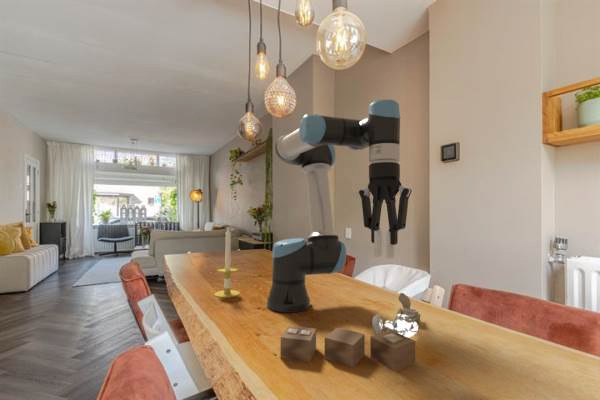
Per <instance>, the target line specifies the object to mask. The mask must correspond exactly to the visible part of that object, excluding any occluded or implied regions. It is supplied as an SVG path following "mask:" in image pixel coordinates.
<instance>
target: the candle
mask: <svg viewBox="0 0 600 400" xmlns="http://www.w3.org/2000/svg"><path fill="white" fill-rule="evenodd" d="M231 239H232V233H231V231H230V229H229V227H227V230H226V232H225V239H224V241H225V243H224V245H225V246H224V248H225V249H224V251H225V252H224V254H225V255H224V267H219V268H217V269H216V272H217V273H224V275H223V276H224V277H223V278H224V279H223V283H224V284H223V288H224V289H223V290H219V291H217V292H215V293H214V297H215V298H223V299H226V298H227V299H228V298H235V297H238V296H239V295H241V292H240V291H238V290H235V289H231V288H232V287H231V286H232V285H231V284H232V283H231V281H232V280H231V279H232V278H231V277H232V273H235V272H238V271H239V268H238V267H235V266H234V267H233V266H232V267H231V253H232V251H231V250H232V249H231V248H232V245H231V244H232V243H231V242H232V240H231Z"/></svg>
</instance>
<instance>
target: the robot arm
mask: <svg viewBox="0 0 600 400" xmlns="http://www.w3.org/2000/svg"><path fill="white" fill-rule="evenodd" d="M400 115H401V112H400V104H399V103H398V101H396V100H394V99H389V98H388V99H387V98H386V99H379V100H375V101H373V102H371V103H370V104H369V106H368V116H367V117H365V118H363V119H354V118H346V117H345V118H344V117H337V116H336V117H335V116H327V115H320V114H305V115H303V117H302V118H301V121H299V123H300V124H299V128H297V129H296V130H294V131H292V132H291V133H285V134H282V135H280V136H279V138H278V139H277V140H276V143H275V145H274V150H275V153H276V156H277V158H279V160H281V161H282V162H284V163H285V164H288V165H291V166H301V171H302V173H304V174H305V175H306V186H307V187H306V190H307V200H308V201H307V202H308V212H309V226H310V234H309V235H308V237H307V241H306V239H305V238H303V237H301V238H300V237H298V238H297V237H296V238H285V239H282V240H278V241H276V242H275V243H274V244H273V246H272V254H271V257H272V267H271V268H272V270H271V271H272V273H271V274H272V275H271V276H272V277H271V279H272V282H271V287H270V290H269V294H268V297H267V300H266V307H267V308H268V309H269V310H271V311H274V312H278V313H298V312H303V311H305V310H307V309H309V308H310V306H311V299H310V297H309V294H308V289H307V286H306V276H308V275H310V276H312V275H326V274H327V275H330V274H334V273H335V274H337V273H339V272H341V271H342V269H343V268H344V266H345V264H346V261H347V247H346V245H345V243H344V242H343V241H341V240H340V239H339V235H338V234H337V233H336V232H335V231H334V221H333V212H332V202H331V193H330V184H329V182H330V181H329V172H330V170H331V169H332V167H333V165H334V164H335V161H336V150H335V146H337V147H338V146H339V147H340V146H341V147H348V148H349V149H350V150H354V151H359V150H360V151H361V150H364V149H366V148H368V162H369V165H368V179H369V182H368V184H367V187H366V188H364V189H360V190H358V195H359V196H360V198H361V207H362V216H363V217H362V218H363V226H364V228H366V229H370V232H371V234H370V235H371V236H370V237H371V239H370V241H371V243H372V244H374V245H373V249H374V251H373V253H374V254H373V257H374V258H380V257H382V256H383V230H380V229H381V227H380V224H381V223H380V222H381V215H382V214H381V213H382V206H383V203H384V202H385V204H386V211H387V220H388V227H389V228H388V230H387V231H386V233H385V235H386V237H385V238H386V245H385V246H386V251H385V253H386V258H385V259H388V260H389V259H393V258H395V245H398V242H399V241H398V237H399V236H398V235H399V234H398V232H399V231H401V230H403V229H404V230H405V229H406V225H407V216H408V215H407V214H408V208H409V207H408V206H409V205H408V204H409V198H410V197H411V194H412V192H413V191H412V188H409V187H408V188H407V187H405V186H403V185H402V183H401V180H400V179H401V178H400V177H401V172H400V171H401V170H400V169H401V168H400V167H401V165H400V164H399V163H398V162H400V161H401V156H400V155H401V154H400V153H401V148H400V140H401V139H400V137H401V135H400V134H401V132H400V131H401V116H400ZM398 193H399V203H398V208H397V207H396V206H397V205H396V203H397V201H396V199H397V198H396V196H397V195H398ZM371 195H372V202H371V198H370V196H371ZM371 203H372V205H371ZM397 209H398V210H397ZM397 211H398V212H397Z"/></svg>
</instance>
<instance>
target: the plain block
mask: <svg viewBox="0 0 600 400" xmlns="http://www.w3.org/2000/svg"><path fill="white" fill-rule="evenodd" d="M365 341H366V335H365V333H361V332H357V331H353V330H349V329H345V328H341V327H337V328H335V329H334V330H332V331H331V332H330V333H329V334H327V335H326V336H325V337H324V359H325V360H327V361H330V362H334V363H337V364H340V365H342V366H347V367H350V368H355V366H356V365H357V364H358V363H359V362H360V360H362V358H363V357H364V356H365V354H366V351H365V350H366V349H365V347H366V346H365Z"/></svg>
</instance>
